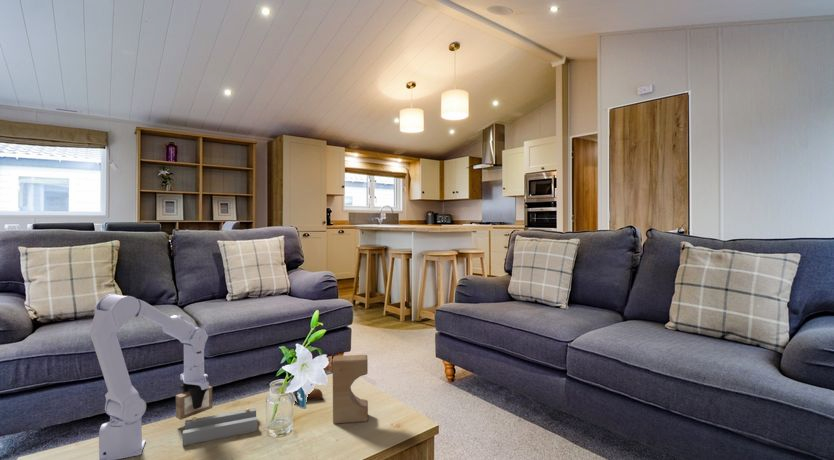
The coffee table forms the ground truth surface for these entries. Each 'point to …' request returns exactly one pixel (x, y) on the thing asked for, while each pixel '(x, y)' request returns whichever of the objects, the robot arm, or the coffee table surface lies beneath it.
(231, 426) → the picture ledge
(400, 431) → the coffee table surface
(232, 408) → the coffee table surface
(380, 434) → the coffee table surface
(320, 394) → the sunglasses case
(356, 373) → the decorative block
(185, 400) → the walnut frame
